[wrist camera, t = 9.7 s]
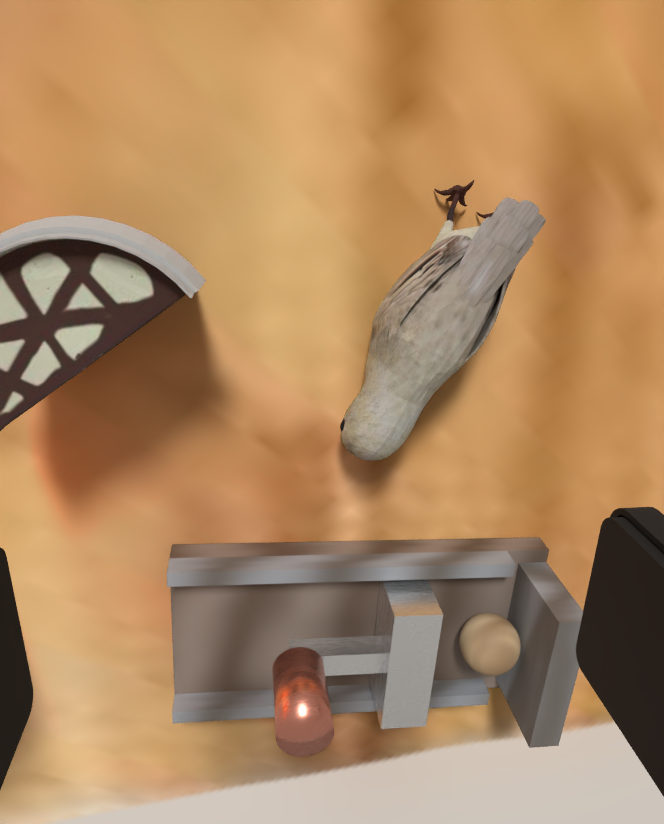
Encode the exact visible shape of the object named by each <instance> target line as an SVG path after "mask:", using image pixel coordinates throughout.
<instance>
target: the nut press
mask: <svg viewBox="0 0 664 824" xmlns="http://www.w3.org/2000/svg"><path fill="white" fill-rule="evenodd" d="M548 552H549V549H548V548H547V547H546V545H545V544H544V543H543V541H542V540H541V539H540V538H488V539H437V540H385V541H333V542H282V543H230V544H179V545H172V548H171V553H170V559H169V564H168V569H167V587H171V610H172V637H173V664H174V690H175V695H174V703H173V711H172V716H173V723H186V722H203V721H220V720H237V719H254V718H271V717H275V708H274V690H273V673H272V667H273V663H274V661H275V659H276V658H277V657H278V656H279V655H280V654H281V653H283V652H284V651H286V650H288V646H289V639H313V638H337V637H361V636H375V627H376V618H377V609H378V600H379V591H380V582H381V581H388V580H422V579H428V581H429V583H430V586H431V588H432V590H433V592H434V595H435V597H436V599H437V602H438V604H439V606H440V608H441V611H442V613H443V620H442V626H441V632H440V639H439V645H438V651H437V658H436V664H435V671H434V677H433V683H432V690H431V696H430V702H429V708H439V707H456V706H473V705H487V704H488V699H489V692H488V689H487V688H497V687H500V688H501V690H502V692H503V694H504V696H505V698H506V700H507V703H508V705H509V707H510V709H511V711H512V713H513V715H514V717H515V719H516V721H517V723H518V725H519V727H520V729H521V731H522V733H523V735H524V737H525V740H526V742H527V744H528V746H529V747H544V746H558V745H559V741H560V737H561V734H562V730H563V726H564V722H565V719H566V715H567V711H568V707H569V703H570V700H571V696H572V692H573V688H574V685H575V681H576V677H577V673H578V669H579V664H578V661H577V657H576V643H577V639H578V634H579V629H580V624H581V620H582V615H583V610H582V609H581V608H580V606H579V605H578V604H577V602H576V601H575V600H574V598H573V597H572V596H571V594H570V593H569V592H568V590H567V589H566V588H565V586H564V585H563V584H562V583H561V581H560V580H559V579H558V577H557V576H556V575H555V573H554V572H553V571H552V569H551V568H550V567H549V565H548V564H547V563H546V561H547V557H548ZM325 677H326V683H327V689H328V696H329V702H330V708H331V714H338V713H355V712H372V711H376V707H375V702H374V698H373V694H372V690H371V686H370V674H355V675H335V676H325Z"/></svg>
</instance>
